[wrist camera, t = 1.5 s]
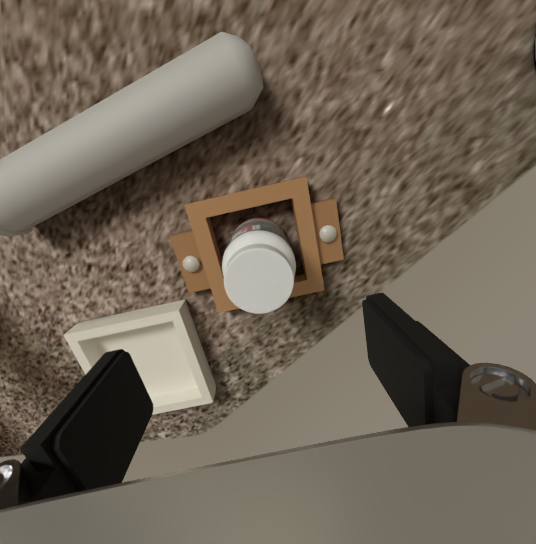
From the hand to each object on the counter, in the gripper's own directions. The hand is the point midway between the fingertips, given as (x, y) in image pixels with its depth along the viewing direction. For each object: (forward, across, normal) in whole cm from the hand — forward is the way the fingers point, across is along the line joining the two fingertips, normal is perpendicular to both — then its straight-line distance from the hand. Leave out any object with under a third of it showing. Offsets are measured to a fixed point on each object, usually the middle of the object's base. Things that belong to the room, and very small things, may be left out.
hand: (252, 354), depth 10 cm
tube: (+18, +8, -12) cm, 23 cm away
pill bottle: (+18, 0, 0) cm, 18 cm away
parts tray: (+18, +14, +10) cm, 25 cm away
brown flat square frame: (+17, 0, 0) cm, 17 cm away
